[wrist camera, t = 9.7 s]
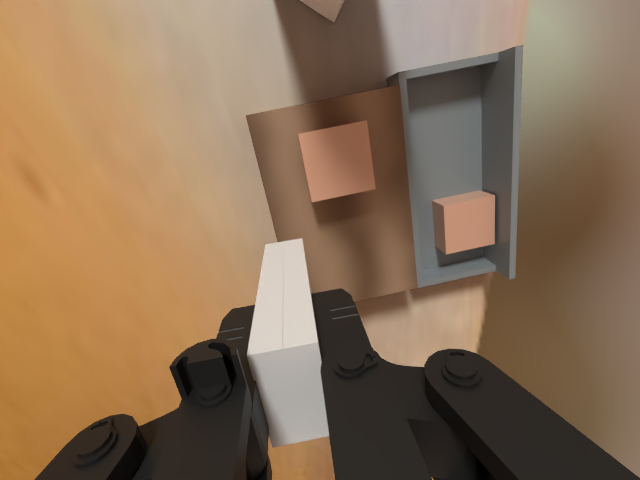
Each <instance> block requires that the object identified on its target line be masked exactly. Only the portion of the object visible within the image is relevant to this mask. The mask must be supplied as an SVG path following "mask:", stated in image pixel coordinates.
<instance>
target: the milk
mask: <svg viewBox="0 0 640 480" xmlns="http://www.w3.org/2000/svg"><path fill="white" fill-rule="evenodd" d="M300 1H301V2H303V3H304V4H306V5H307V6H309V7H310V8H312V9H313V10H315V11H316V12H318V13H319V14H321V15H322V16H324V17H325V18H327V19H329V20H330V21H332V22H335V20H336V18H337V16H338V13H339V11H340V9H341V7H342V5H343V3H344V1H345V0H300Z"/></svg>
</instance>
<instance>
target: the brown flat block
mask: <svg viewBox="0 0 640 480" xmlns="http://www.w3.org/2000/svg"><path fill="white" fill-rule="evenodd" d="M246 118H247V122H248V126H249V130H250V134H251V138H252V142H253V146H254V150H255V154H256V158H257V162H258V166H259V170H260V174H261V178H262V181H263V185H264V189H265V193H266V197H267V201H268V205H269V209H270V213H271V217H272V221H273V225H274V229H275V233H276V237H277V241H278V242H283V241H288V240H294V239H300V238H302V240H303V245H304V251H305V257H306V263H307V268H308V274H309V280H310V285H311V291H312V293H317V292H323V291H328V290H334V289H339V288H342V289H344V290H345V291H346V292H348V293H349V294H350V295H351V296H352V298H353V301H354V302H357V301H361V300H366V299H370V298H375V297H379V296H384V295H388V294H393V293H397V292H402V291H406V290H411V289H415V288H418V283H417V272H416V261H415V249H414V238H413V227H412V216H411V204H410V193H409V182H408V171H407V160H406V148H405V137H404V126H403V115H402V103H401V92H400V85H396V86H391V87H386V88H381V89H376V90H371V91H366V92H361V93H356V94H351V95H346V96H341V97H336V98H331V99H326V100H321V101H316V102H311V103H306V104H301V105H296V106H291V107H286V108H281V109H276V110H271V111H266V112H261V113H256V114H251V115H246ZM366 120H367V124H368V132H369V140H370V148H371V156H372V164H373V172H374V179H375V187H376V189H373V190H368V191H364V192H359V193H354V194H350V195H345V196H340V197H335V198H331V199H326V200H321V201H316V202H312V201H311V199H310V196H309V191H308V186H307V181H306V176H305V171H304V166H303V161H302V157H301V152H300V147H299V142H298V137H297V134H298V133H303V132H308V131H313V130H318V129H323V128H328V127H333V126H338V125H343V124H348V123H352V122H357V121H366Z"/></svg>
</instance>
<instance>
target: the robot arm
mask: <svg viewBox="0 0 640 480" xmlns="http://www.w3.org/2000/svg"><path fill="white" fill-rule="evenodd" d="M424 366H425V367H412V366H402V365H396V364H393V363H390V362H387V361H386V360H384V359H382V358H381V357H380V356H379V354H378V353H377V352H376V351H374V350H373V348H372V347H371V344H370V342H369V339H368V337H367V334H366V331H365V329H364V326H363V324H362V321H361V319H360V316H359V315H358V311H357V309H356V307H355V303H354V301H353V298H352V296H351V295H350V294H349V293H348V292H346V291H345V290H344V289H342V288H339V289H334V290H328V291H323V292H317V293H312V291H311V285H310V280H309V274H308V268H307V263H306V257H305V251H304V245H303V240H302V238H300V239H294V240H288V241H283V242H277V243H271V244H265V250H264V256H263V262H262V268H261V274H260V280H259V286H258V292H257V297H256V303H255V305H252V306H246V307H241V308H235V309H232V310H231V311H230V312H229V313H228V314H227V315H226V316H225V317H224V318H223V320H222V323H221V326H220V329H219V333H218V335H217V338H216V339H210V340H207V341H203V342H200V343H197V344H195V345H194V346H192V347H190V348H188V349H186V350H185V351H184V352H182V353H181V354H180V355H179V356H178V357H176V358H175V360H174V361H173V363H172V364H171V365H170V367H169V368H170V370H171V373H172V375H173V378H174V380H175V383H176V385H177V388H178V390H179V393H180V396H181V398H182V400H181V403H180V405H179V408H177V409H176V410H174V411H172V412H170V413H168V414H166V415H164V416H162V417H159V418H157V419H155V420H153V421H150V422H148V423H146V424H144V425H141V426H138V424H137V422H136V421H135V420H134V418H133V417H132V416H129V415H125V414H119V415H113V416H109V417H106V418H104V419H102V420H99V421H97V422H95V423H93V424H92V425H90V426H89V427H87V428H85V429H84V430H82V431H81V432H79V433H78V434H77V435H76V436H75V437H74V438H73V439H72V440H71V441H70V442H69V443H68V444H66V445H65V447H64V448H63V449H62V450H61V451H60V452H59V453H58V454H57V455H56V456H55V458H54V459H53V460H52V461H51V462H50V463H49V464H48V465H47V466H46V468H45V469H44V470H43V471H42V472H41V473H40V474H39V475H38V476H37V477H36V479H35V480H272V470H271V464H270V460H269V456H268V436H269V437H270V440H271V444H272V448H273V447H277V446H282V445H287V444H292V443H297V442H302V441H307V440H312V439H317V438H322V437H327V436H329V437H330V444H331V452H332V459H333V466H334V473H335V480H432V478H431V477H433V479H434V480H640V478H639V477H638V476H636V475H635V474H634V473H632V472H631V471H630V470H629V469H627V468H626V467H625V466H623V465H622V464H621V463H620V462H618V461H617V460H616V459H614V458H613V457H612V456H611V455H609V454H608V453H607V452H605V451H604V450H603V449H602V448H600V447H599V446H598V445H596V444H595V443H594V442H593V441H591V440H590V439H589V438H587V437H586V436H585V435H583V434H582V433H581V432H580V431H578V430H577V429H576V428H575V427H573V426H572V425H571V424H569V423H568V422H567V421H566V420H564V419H563V418H562V417H560V416H559V415H558V414H557V413H555V412H554V411H553V410H551V409H550V408H549V407H547V406H546V405H545V404H544V403H542V402H541V401H540V400H539V399H537V398H536V397H535V396H533V395H532V394H531V393H530V392H528V391H527V390H526V389H524V388H523V387H522V386H521V385H519V384H518V383H517V382H515V381H514V380H513V379H512V378H510V377H509V376H508V375H506V374H505V373H504V372H502V371H501V370H500V369H499V368H497V367H496V366H495V365H493V364H492V363H491V362H489V361H488V360H486V359H485V358H483V357H482V356H480V355H478V354H476V353H473V352H470V351H466V350H463V349H446V350H441V351H437V352H436V353H434V354H433V355H431V356H430V357H429V358H428V360H427V361H426V363H425V365H424Z"/></svg>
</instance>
